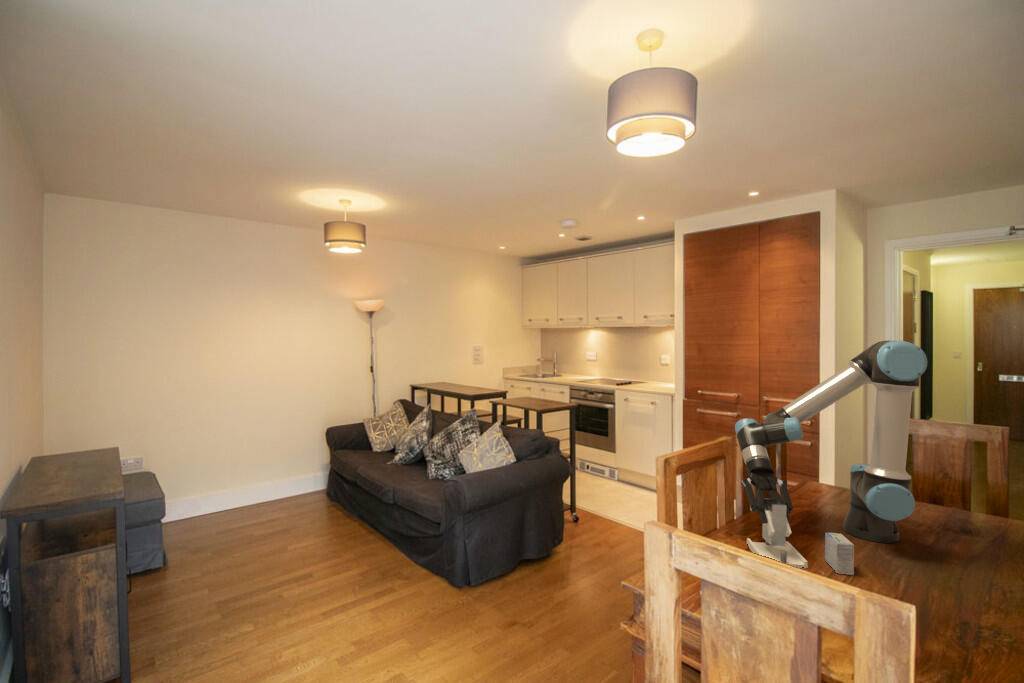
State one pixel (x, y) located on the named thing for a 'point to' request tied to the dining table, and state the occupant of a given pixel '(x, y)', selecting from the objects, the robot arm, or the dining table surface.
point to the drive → (775, 522)
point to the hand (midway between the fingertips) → (780, 534)
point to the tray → (779, 553)
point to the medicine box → (839, 553)
